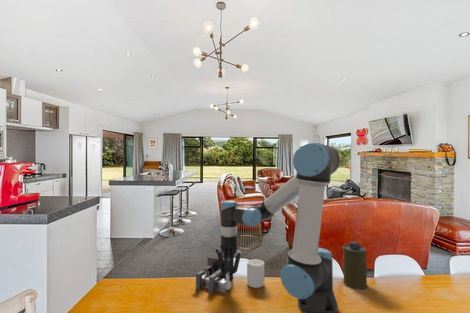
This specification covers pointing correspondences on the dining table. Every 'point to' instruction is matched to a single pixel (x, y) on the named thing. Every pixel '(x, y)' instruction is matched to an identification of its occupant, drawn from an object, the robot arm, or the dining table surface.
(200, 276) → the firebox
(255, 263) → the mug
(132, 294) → the dining table surface
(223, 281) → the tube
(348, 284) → the canister
